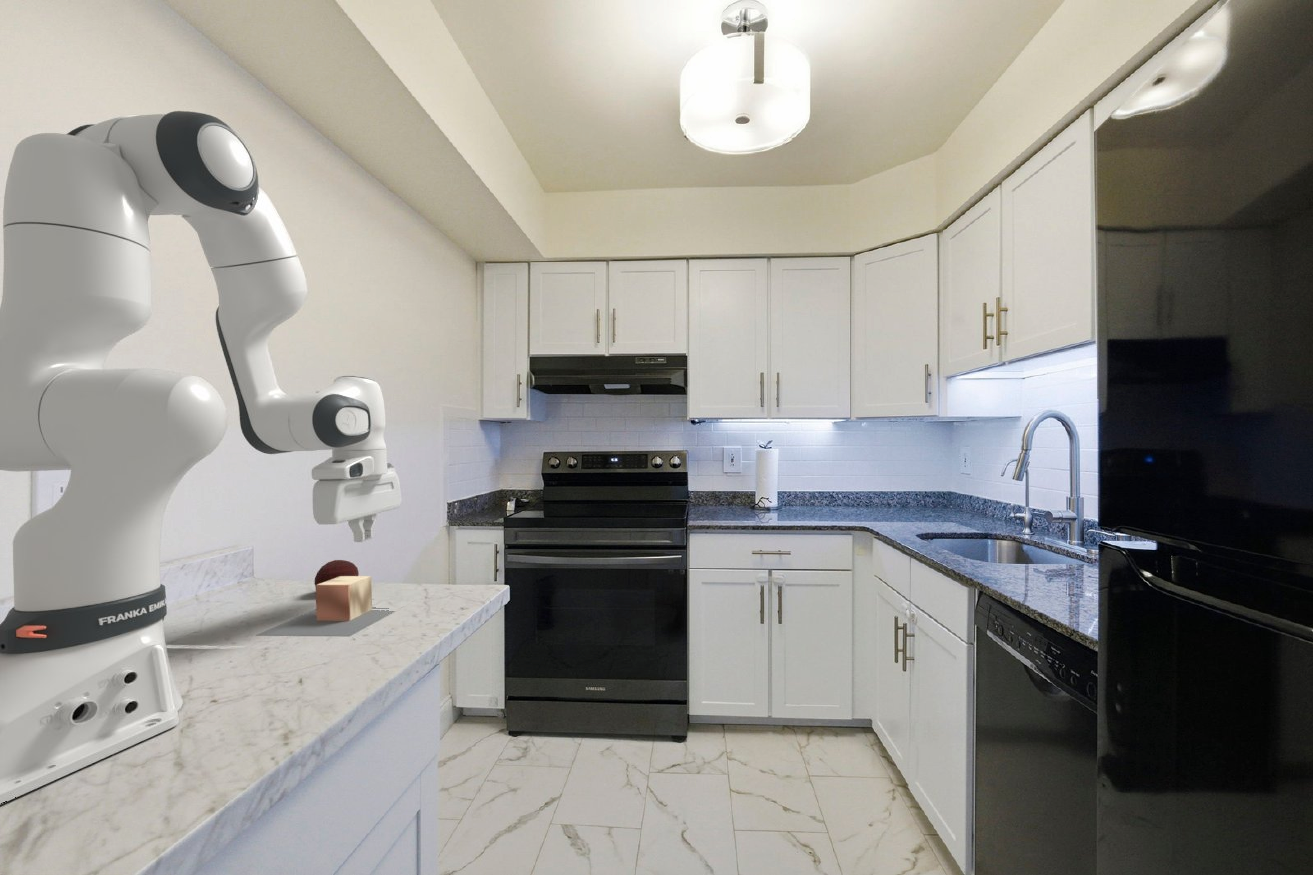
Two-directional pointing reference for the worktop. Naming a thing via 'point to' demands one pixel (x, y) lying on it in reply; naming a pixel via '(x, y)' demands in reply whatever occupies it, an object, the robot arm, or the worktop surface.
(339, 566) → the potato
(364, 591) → the block
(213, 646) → the worktop surface
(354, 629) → the mat
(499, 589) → the worktop surface
